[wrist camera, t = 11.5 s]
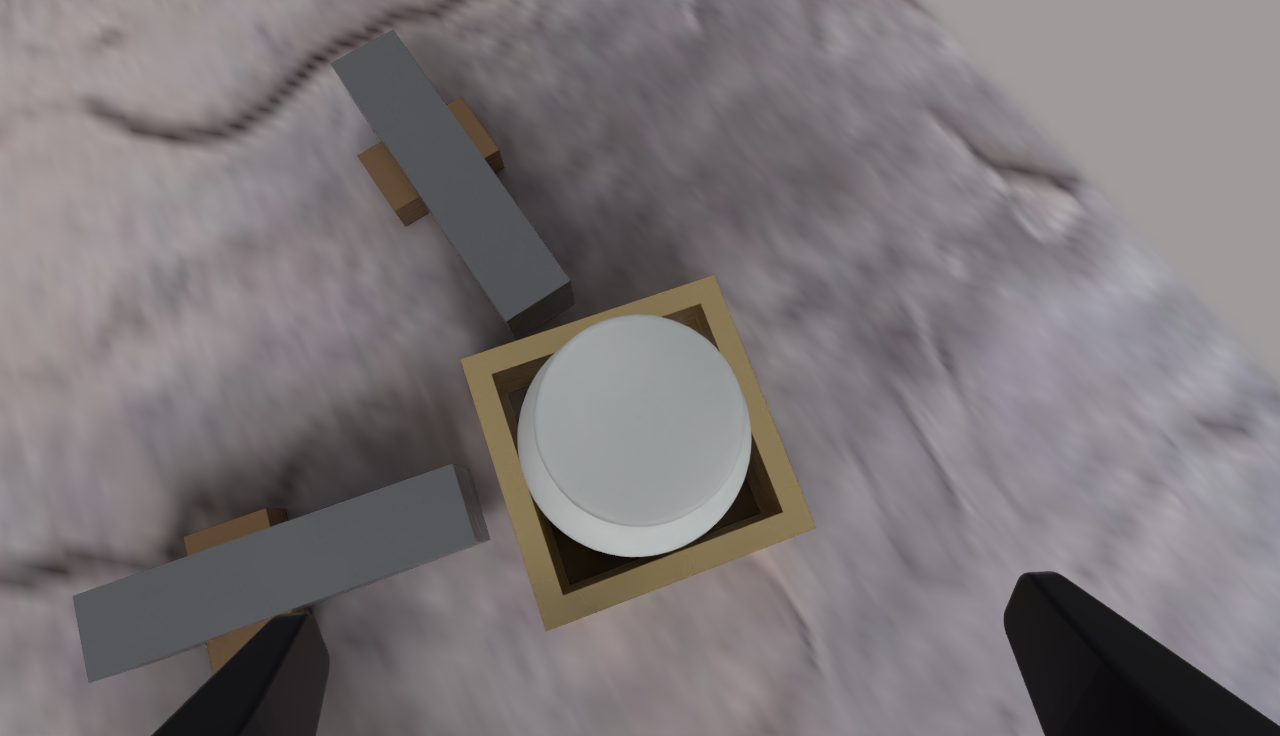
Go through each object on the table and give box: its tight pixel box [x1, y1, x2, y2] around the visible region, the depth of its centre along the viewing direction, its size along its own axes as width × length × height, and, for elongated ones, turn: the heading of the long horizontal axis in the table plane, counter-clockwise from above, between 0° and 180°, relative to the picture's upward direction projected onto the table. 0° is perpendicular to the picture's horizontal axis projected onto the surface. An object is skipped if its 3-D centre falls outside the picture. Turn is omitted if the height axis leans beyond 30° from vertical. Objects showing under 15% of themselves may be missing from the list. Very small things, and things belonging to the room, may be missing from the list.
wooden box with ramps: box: [73, 30, 816, 683], centre depth 21 cm, size 19×19×3 cm
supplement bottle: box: [517, 314, 751, 557], centre depth 17 cm, size 5×5×10 cm
